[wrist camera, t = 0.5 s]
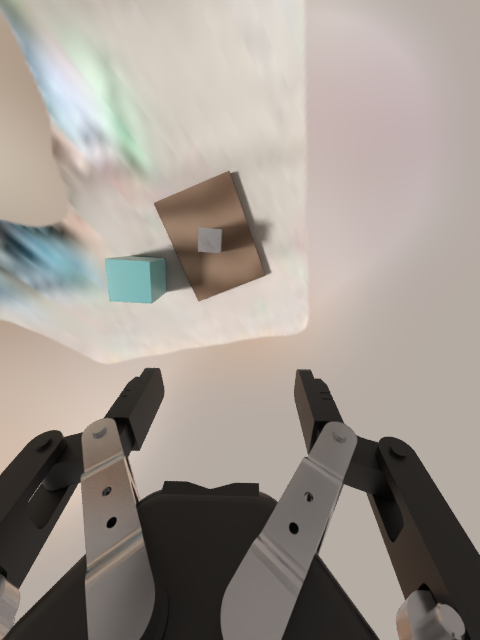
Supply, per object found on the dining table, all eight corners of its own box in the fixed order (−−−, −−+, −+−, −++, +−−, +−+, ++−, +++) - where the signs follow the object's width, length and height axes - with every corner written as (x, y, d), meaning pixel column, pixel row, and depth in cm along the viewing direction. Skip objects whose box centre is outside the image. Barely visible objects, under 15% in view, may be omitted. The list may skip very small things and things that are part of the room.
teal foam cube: (130, 256, 37) (104, 258, 29) (165, 258, 37) (149, 261, 30) (132, 290, 39) (109, 301, 31) (166, 292, 39) (151, 303, 31)
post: (203, 230, 35) (198, 227, 29) (222, 231, 35) (221, 229, 30) (202, 250, 36) (198, 251, 30) (221, 252, 36) (220, 253, 30)
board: (156, 204, 35) (153, 203, 34) (229, 173, 34) (229, 170, 33) (199, 299, 40) (198, 301, 38) (264, 274, 39) (265, 275, 38)
